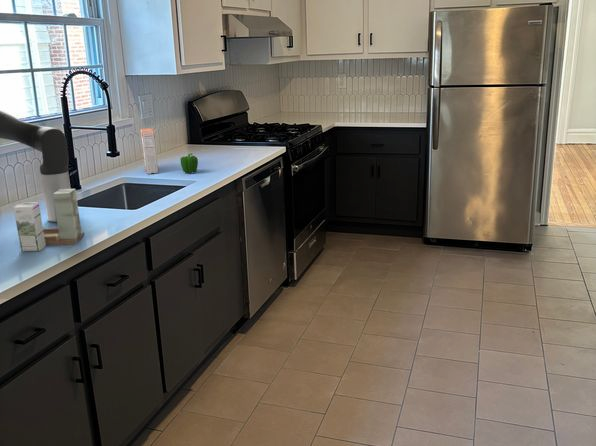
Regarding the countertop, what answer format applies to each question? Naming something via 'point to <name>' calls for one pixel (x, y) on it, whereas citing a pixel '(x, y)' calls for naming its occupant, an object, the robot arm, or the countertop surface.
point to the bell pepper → (189, 163)
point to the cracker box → (149, 150)
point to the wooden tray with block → (65, 219)
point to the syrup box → (29, 226)
